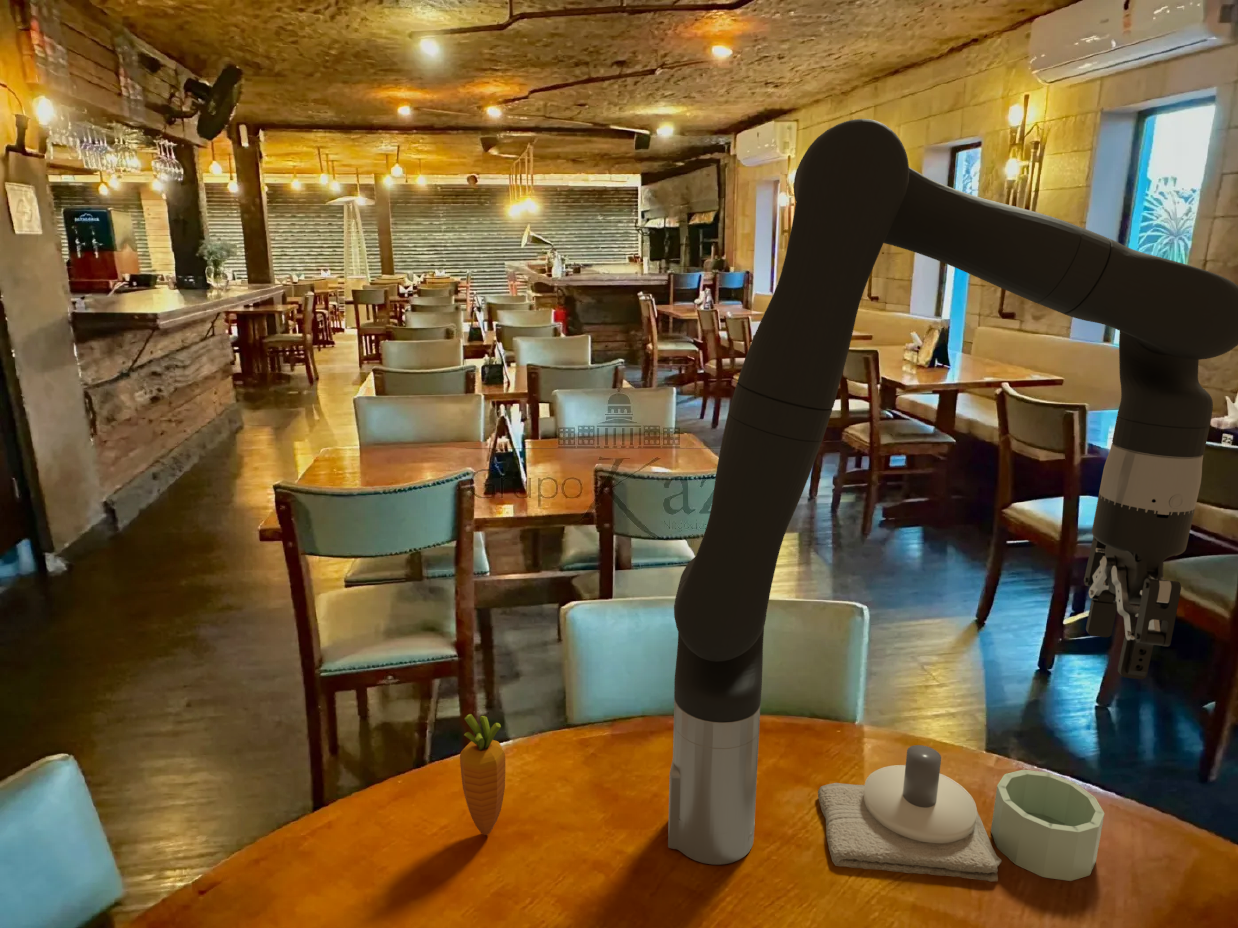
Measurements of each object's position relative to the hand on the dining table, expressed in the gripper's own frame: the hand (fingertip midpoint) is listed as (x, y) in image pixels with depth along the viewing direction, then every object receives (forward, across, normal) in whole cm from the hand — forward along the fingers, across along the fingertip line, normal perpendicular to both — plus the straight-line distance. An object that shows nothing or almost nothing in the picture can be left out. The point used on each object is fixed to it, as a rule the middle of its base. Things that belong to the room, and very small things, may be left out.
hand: (1113, 654), depth 77 cm
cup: (+26, -4, -2) cm, 26 cm away
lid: (+24, -4, -15) cm, 28 cm away
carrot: (+28, +8, -62) cm, 69 cm away
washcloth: (+27, -2, -16) cm, 31 cm away
